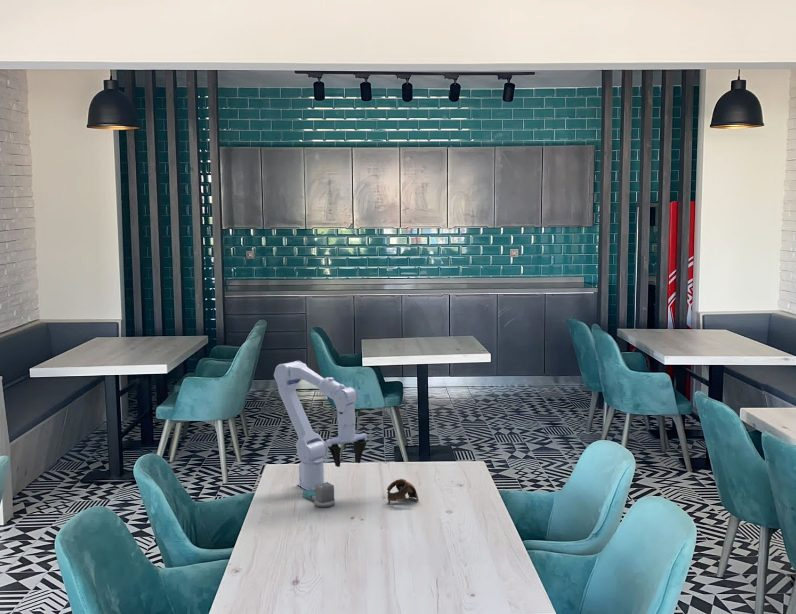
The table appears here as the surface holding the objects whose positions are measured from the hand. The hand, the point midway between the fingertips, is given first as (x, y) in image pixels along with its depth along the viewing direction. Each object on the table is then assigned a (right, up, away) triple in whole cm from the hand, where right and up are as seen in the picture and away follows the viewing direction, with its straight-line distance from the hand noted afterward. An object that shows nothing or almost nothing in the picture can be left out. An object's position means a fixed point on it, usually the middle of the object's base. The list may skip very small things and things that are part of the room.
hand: (347, 464), depth 279 cm
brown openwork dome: (+18, -10, -9) cm, 23 cm away
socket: (-7, -9, -11) cm, 16 cm away
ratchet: (-9, -11, -6) cm, 16 cm away
